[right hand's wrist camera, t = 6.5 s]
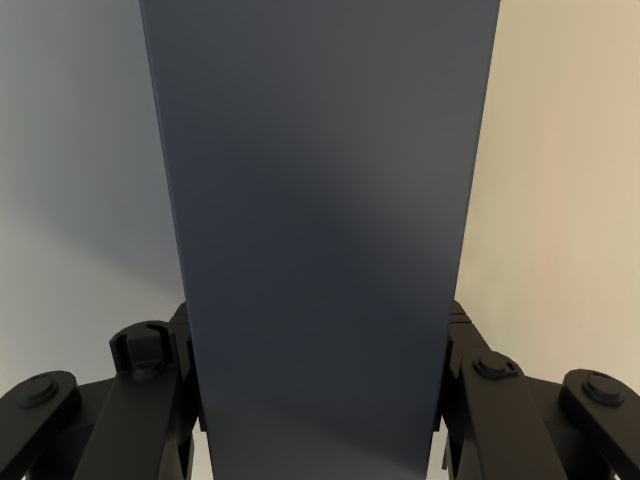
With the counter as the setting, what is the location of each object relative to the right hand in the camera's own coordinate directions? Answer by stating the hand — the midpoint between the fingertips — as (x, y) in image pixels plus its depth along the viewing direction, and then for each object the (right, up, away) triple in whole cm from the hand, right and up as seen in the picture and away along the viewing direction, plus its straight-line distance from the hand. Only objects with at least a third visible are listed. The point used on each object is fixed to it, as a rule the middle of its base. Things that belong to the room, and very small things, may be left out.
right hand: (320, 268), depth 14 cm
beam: (0, +21, -8) cm, 23 cm away
